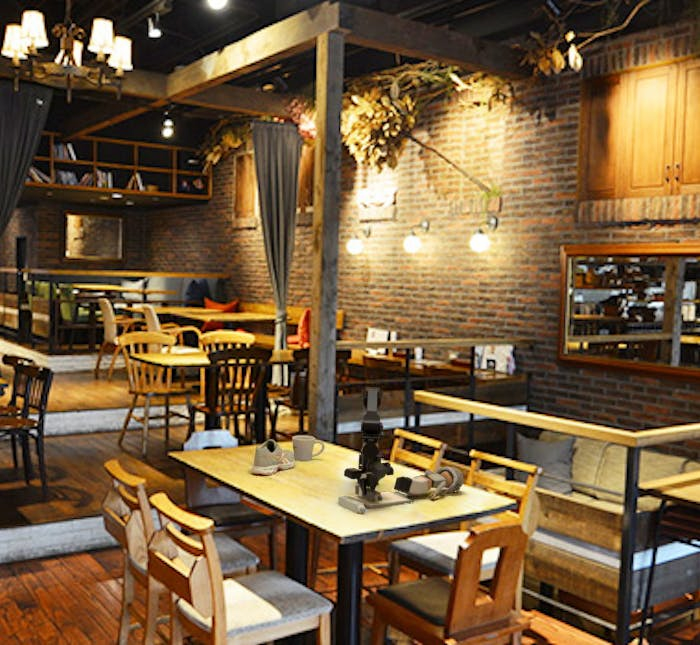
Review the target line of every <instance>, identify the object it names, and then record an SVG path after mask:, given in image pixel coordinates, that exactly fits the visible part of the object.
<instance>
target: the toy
mask: <svg viewBox="0 0 700 645" xmlns="http://www.w3.org/2000/svg"><path fill="white" fill-rule="evenodd" d="M395 479H396V480H395V483H394V487H393V489H394V491H397V492H400V493H402V494H405V495H408V496H414V495H419V494H420V495H421V494H424V493H426V492H427V493H428V492H429V491H430V490H431V489H435V490H434V491H433V492H431V493H430V494H429V498H430V500H431V499H436V498H437V495H438V494H439V493H440V494H441V495H443V494H445V495H446V493H454V492H453V491H456V492H458V491H461V488H462V486H463V484H464V477H463V473H462V471H461V470H460V469H459V468H457V467H454V466H444V467H439V468H438V469H437V470H436V472H434V471H431V470H430V469H426V470H425V472H424V474H420V475H416V476H414V477H409V476H399V477H396V478H395ZM444 488H445V489H446V490H443V489H444ZM456 492H455V493H456Z"/></svg>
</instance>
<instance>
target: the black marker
mask: <svg viewBox="0 0 700 645" xmlns="http://www.w3.org/2000/svg"><path fill="white" fill-rule="evenodd" d="M354 490H355V491H354V494H355V495H359V496H361V497H364V498H366V499H368V500H371V501H373V502H375V501H377V502H380V501H381V500H382V499H383V498H382V495H381V493H380V492H381V491H377V490H376V489H375V490H373V489H371V488H370V486H366V496H364V495H363V493H362V490H361V488H360V485H359V484H358V485H355V488H354Z"/></svg>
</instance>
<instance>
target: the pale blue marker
mask: <svg viewBox="0 0 700 645" xmlns="http://www.w3.org/2000/svg"><path fill="white" fill-rule="evenodd" d="M348 496H349V495H348ZM348 496H347V495H340V496H338V503H337V505H338V504H339V506H340V505H341V507H343V508H344V509H347V510H349V511H350V512H353V513H356V514H364V513H365V512H366V507H365V506H364V504H363V503H361V502H359V501H356V500H354V499H352V498H350V497H348Z"/></svg>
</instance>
